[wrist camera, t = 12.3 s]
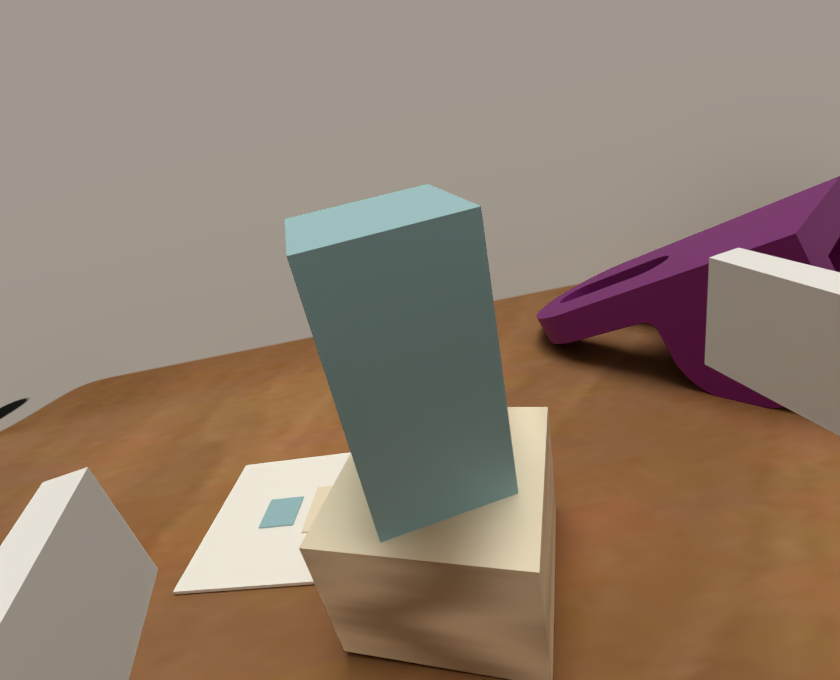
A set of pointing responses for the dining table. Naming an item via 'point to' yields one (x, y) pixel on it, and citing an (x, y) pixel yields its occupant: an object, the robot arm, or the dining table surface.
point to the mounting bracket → (698, 283)
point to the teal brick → (409, 351)
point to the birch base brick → (448, 572)
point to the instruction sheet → (263, 527)
